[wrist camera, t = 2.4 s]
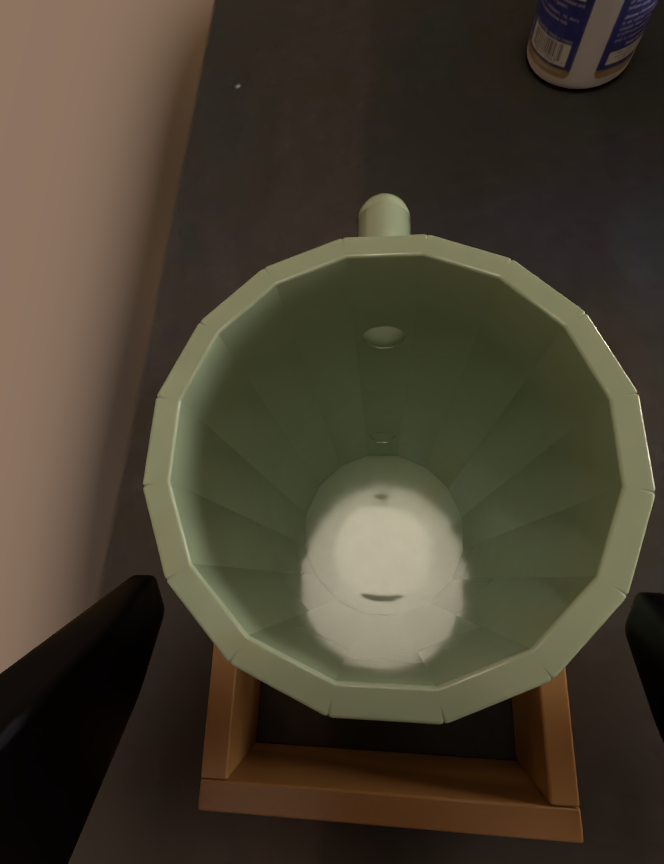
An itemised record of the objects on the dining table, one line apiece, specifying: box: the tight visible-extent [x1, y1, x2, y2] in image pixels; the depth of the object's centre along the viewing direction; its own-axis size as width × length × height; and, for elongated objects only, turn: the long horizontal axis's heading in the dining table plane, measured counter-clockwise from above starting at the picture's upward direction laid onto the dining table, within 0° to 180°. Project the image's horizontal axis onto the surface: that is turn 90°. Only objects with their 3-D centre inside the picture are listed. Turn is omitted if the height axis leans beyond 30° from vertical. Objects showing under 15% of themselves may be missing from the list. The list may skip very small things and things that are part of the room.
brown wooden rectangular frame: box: [198, 645, 583, 843], centre depth 17 cm, size 17×11×4 cm, turn 178°
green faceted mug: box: [143, 193, 655, 725], centre depth 13 cm, size 10×7×13 cm
